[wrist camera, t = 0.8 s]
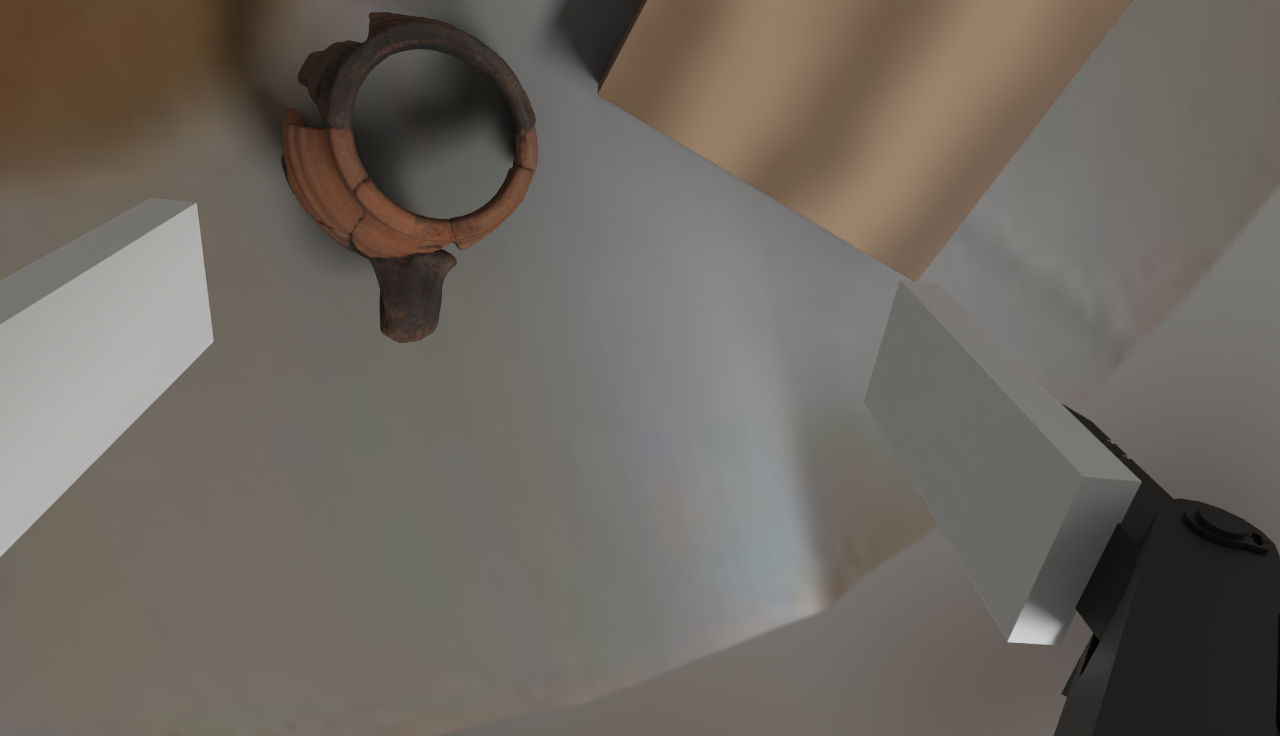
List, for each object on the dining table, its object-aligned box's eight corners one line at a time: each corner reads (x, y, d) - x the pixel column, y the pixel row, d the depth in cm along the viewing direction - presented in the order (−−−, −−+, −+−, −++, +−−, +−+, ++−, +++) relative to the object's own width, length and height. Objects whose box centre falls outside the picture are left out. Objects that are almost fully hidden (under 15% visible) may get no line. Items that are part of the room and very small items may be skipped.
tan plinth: (598, 83, 32) (597, 94, 29) (817, -333, 26) (840, -366, 24) (893, 258, 36) (915, 282, 33) (1138, -72, 30) (1190, -76, 28)
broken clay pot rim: (253, 40, 31) (269, -14, 24) (486, 47, 36) (558, 3, 28) (300, 342, 34) (326, 373, 27) (512, 314, 38) (584, 335, 31)
